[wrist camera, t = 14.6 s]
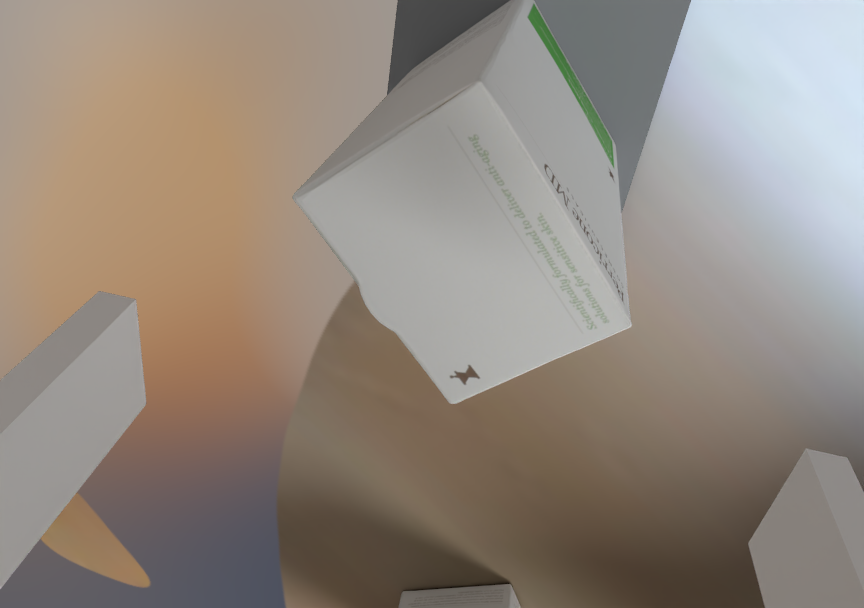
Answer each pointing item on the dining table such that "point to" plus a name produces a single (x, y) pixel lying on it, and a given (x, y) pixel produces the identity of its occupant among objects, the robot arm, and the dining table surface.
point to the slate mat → (571, 54)
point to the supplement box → (462, 597)
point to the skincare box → (481, 208)
